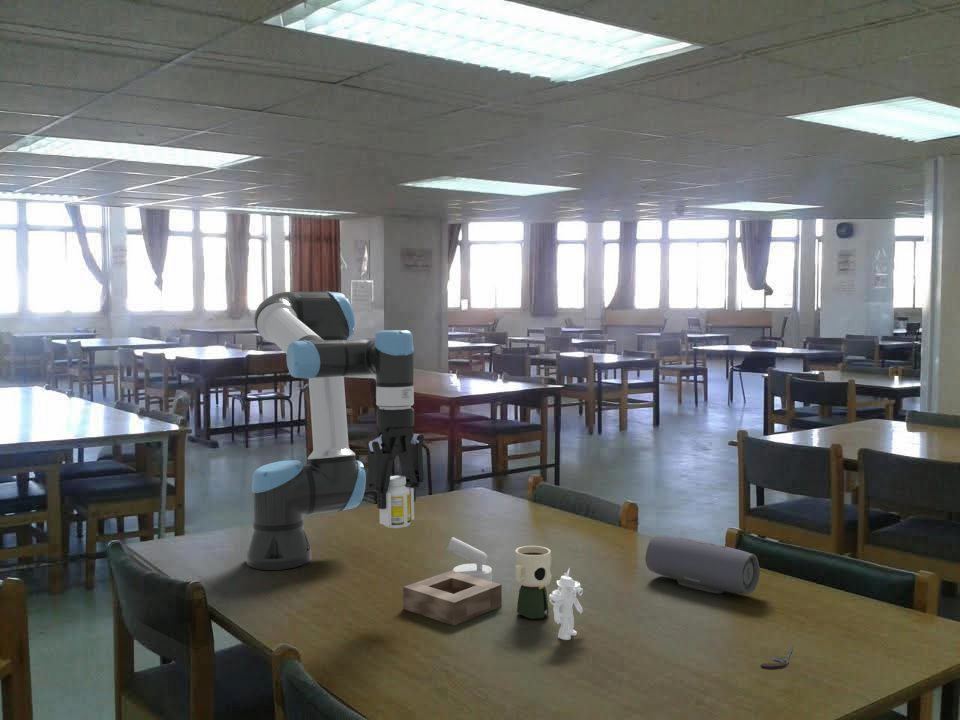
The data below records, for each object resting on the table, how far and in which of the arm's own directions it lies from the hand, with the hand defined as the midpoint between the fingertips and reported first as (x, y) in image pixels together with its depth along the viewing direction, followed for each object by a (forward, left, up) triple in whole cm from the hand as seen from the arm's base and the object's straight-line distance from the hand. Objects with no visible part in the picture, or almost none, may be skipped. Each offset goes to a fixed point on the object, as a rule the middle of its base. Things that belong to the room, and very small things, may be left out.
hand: (397, 521), depth 175 cm
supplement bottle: (0, 0, -1) cm, 1 cm away
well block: (+9, +6, -17) cm, 21 cm away
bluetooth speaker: (+41, +50, -18) cm, 67 cm away
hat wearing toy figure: (+35, +9, -18) cm, 41 cm away
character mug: (+24, +13, -18) cm, 33 cm away
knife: (+68, +26, -18) cm, 75 cm away
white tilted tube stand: (0, +21, -18) cm, 28 cm away
